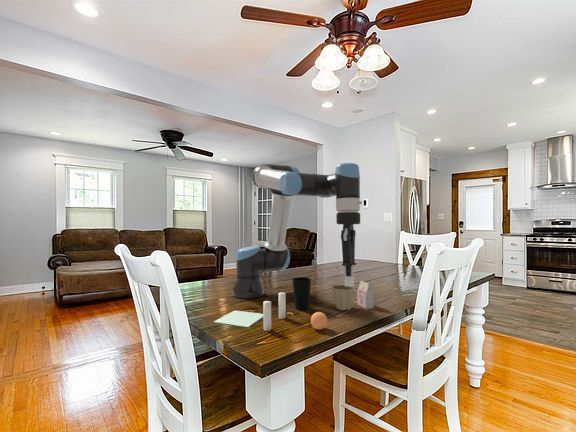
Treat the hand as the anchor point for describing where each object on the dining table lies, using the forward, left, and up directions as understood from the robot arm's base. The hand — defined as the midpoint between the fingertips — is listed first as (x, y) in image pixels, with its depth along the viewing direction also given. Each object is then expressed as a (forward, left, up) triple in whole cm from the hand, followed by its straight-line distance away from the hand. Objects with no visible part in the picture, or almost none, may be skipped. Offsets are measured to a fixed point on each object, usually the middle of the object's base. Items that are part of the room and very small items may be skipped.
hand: (349, 285), depth 91 cm
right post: (-6, -26, -15) cm, 31 cm away
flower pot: (-26, -7, -15) cm, 31 cm away
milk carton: (-32, +1, -15) cm, 36 cm away
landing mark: (0, -40, -15) cm, 43 cm away
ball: (0, -10, -12) cm, 16 cm away
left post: (+6, -26, -15) cm, 31 cm away
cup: (-20, -23, -15) cm, 34 cm away
